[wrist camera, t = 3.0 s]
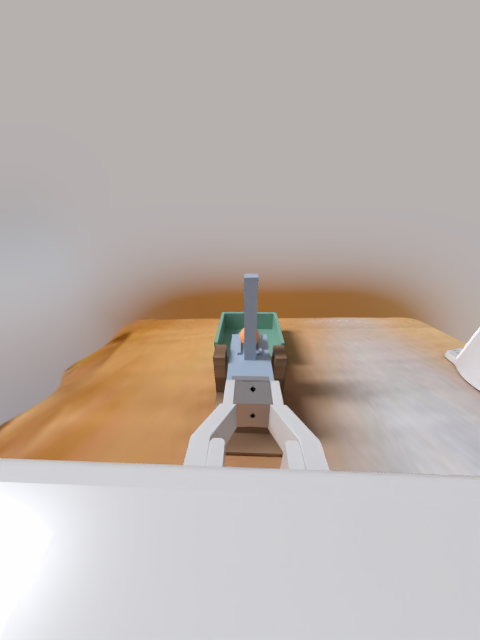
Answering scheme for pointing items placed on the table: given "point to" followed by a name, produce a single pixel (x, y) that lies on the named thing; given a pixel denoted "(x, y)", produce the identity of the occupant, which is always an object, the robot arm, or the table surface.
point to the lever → (250, 342)
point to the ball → (243, 336)
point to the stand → (249, 438)
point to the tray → (235, 324)
